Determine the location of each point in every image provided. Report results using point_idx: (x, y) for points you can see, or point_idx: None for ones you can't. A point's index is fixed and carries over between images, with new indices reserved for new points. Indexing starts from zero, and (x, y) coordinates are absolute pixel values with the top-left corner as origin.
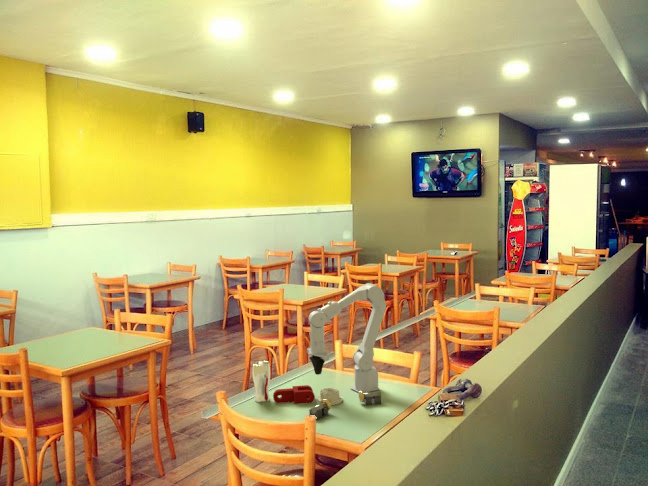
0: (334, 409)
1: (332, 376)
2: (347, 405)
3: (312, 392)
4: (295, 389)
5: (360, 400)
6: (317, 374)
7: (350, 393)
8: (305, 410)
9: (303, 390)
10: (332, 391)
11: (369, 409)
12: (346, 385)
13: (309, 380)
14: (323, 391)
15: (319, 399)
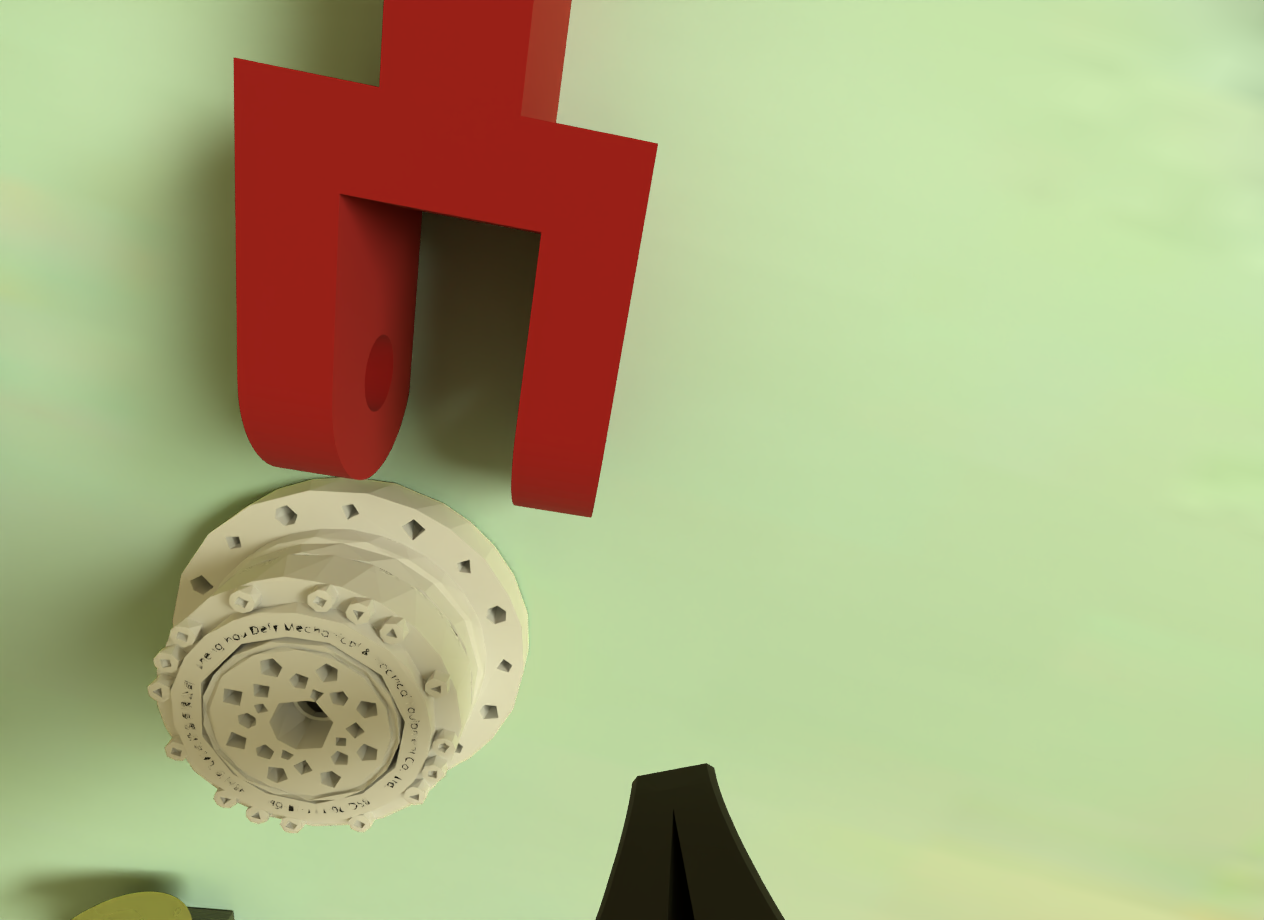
0: (41, 591)
1: (1180, 881)
2: (158, 753)
3: (257, 452)
4: (420, 147)
5: (122, 915)
6: (631, 791)
7: (536, 881)
8: (44, 212)
9: (307, 302)
10: (247, 748)
11: (2, 896)
12: (804, 916)
13: (1233, 616)
14: (281, 633)
15: (322, 513)
